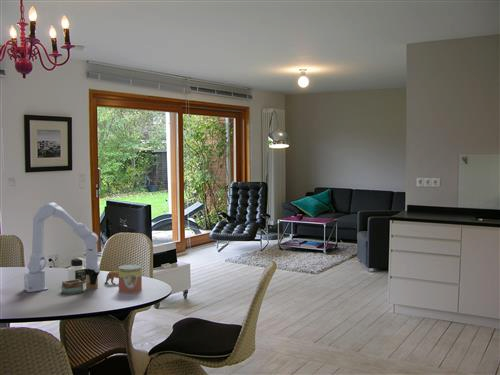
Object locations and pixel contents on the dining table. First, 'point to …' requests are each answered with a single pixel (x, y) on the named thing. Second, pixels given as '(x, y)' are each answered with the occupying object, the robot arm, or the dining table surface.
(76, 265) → the medicine bottle
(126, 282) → the canned food
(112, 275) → the lion figurine
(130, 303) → the dining table surface
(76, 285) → the brown wooden rectangular frame
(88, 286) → the block
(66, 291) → the pale green domed part
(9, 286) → the dining table surface
